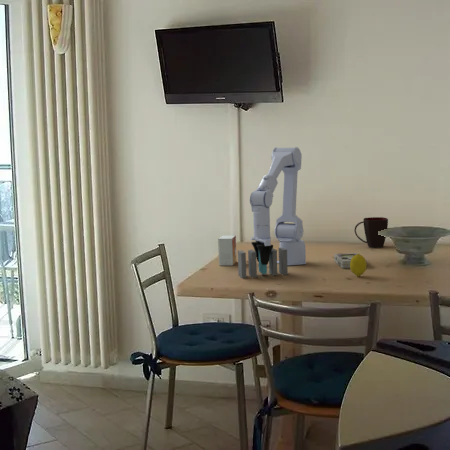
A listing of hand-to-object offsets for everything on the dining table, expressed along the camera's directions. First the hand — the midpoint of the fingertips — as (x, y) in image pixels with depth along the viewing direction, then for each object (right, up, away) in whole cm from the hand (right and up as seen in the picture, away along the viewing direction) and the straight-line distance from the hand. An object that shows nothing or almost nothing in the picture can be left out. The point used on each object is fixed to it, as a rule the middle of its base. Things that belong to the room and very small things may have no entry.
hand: (262, 262), depth 242 cm
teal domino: (0, -3, 0) cm, 3 cm away
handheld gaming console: (+34, -2, +15) cm, 37 cm away
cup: (+49, +4, +49) cm, 69 cm away
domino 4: (+7, -4, +2) cm, 9 cm away
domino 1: (-7, -5, -1) cm, 9 cm away
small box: (-12, -2, +23) cm, 26 cm away
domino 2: (-4, -5, 0) cm, 6 cm away
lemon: (+32, -5, -7) cm, 33 cm away
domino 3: (+4, -4, +1) cm, 6 cm away
